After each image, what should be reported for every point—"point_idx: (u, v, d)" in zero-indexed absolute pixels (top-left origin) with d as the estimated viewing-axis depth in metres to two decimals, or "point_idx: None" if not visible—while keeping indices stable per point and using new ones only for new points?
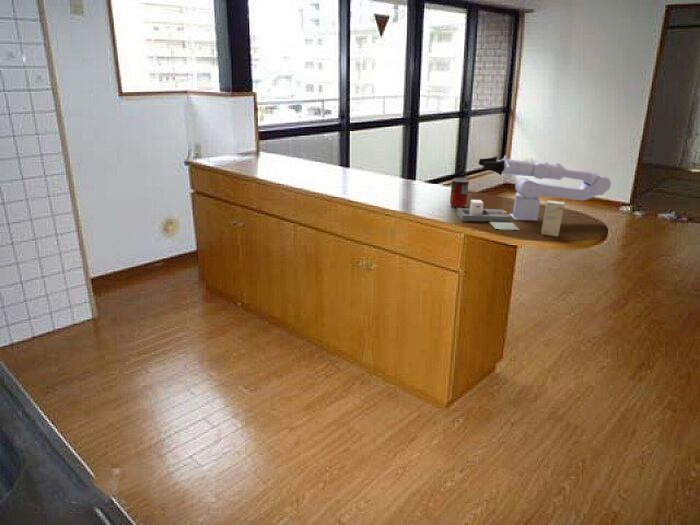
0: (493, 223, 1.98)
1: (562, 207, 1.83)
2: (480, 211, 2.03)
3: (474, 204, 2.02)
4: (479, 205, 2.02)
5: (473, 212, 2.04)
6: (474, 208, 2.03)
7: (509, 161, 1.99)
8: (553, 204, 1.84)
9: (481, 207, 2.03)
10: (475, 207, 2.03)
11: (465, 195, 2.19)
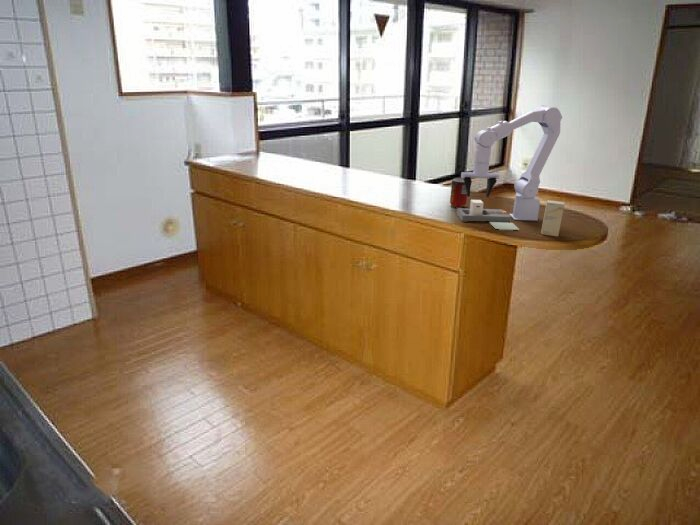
0: (493, 223, 1.98)
1: (562, 207, 1.83)
2: (480, 211, 2.03)
3: (474, 204, 2.02)
4: (479, 205, 2.02)
5: (473, 212, 2.04)
6: (474, 208, 2.03)
7: (486, 172, 1.98)
8: (553, 204, 1.84)
9: (481, 207, 2.03)
10: (475, 207, 2.03)
11: (465, 195, 2.19)
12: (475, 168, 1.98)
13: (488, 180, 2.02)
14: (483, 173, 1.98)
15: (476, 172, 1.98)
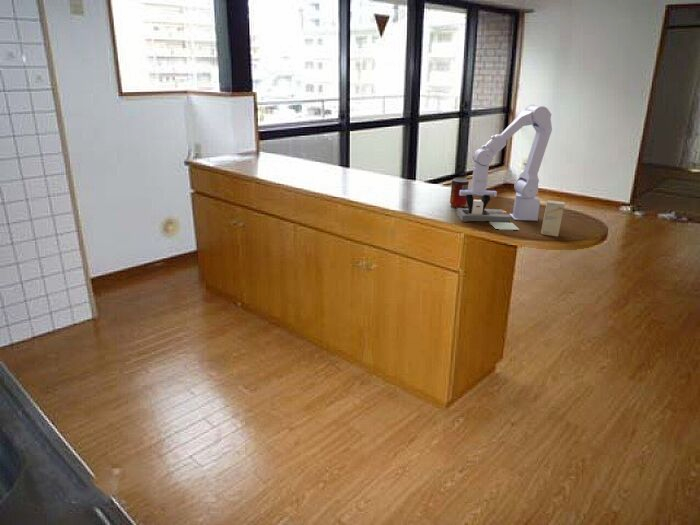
0: (493, 223, 1.98)
1: (562, 207, 1.83)
2: (480, 211, 2.03)
3: (474, 204, 2.02)
4: (479, 205, 2.02)
5: (473, 212, 2.04)
6: (474, 208, 2.03)
7: (484, 189, 2.00)
8: (553, 204, 1.84)
9: (481, 207, 2.03)
10: (475, 207, 2.03)
11: None
12: (473, 186, 2.01)
13: (482, 197, 2.05)
14: (481, 191, 2.00)
15: (474, 190, 2.01)
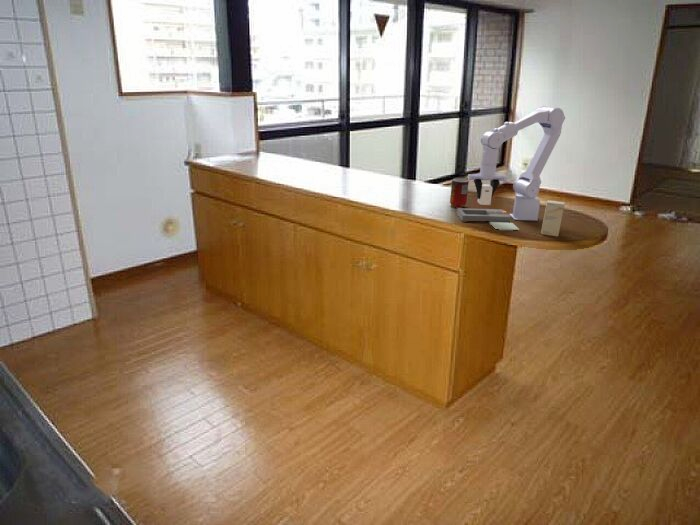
0: (493, 223, 1.98)
1: (562, 207, 1.83)
2: (489, 196, 1.98)
3: (483, 188, 1.97)
4: (488, 189, 1.98)
5: (482, 197, 1.99)
6: (483, 193, 1.98)
7: (493, 173, 1.96)
8: (553, 204, 1.84)
9: (490, 192, 1.98)
10: (484, 192, 1.98)
11: (465, 195, 2.19)
12: (482, 170, 1.96)
13: (491, 182, 2.00)
14: (490, 175, 1.95)
15: (482, 173, 1.96)
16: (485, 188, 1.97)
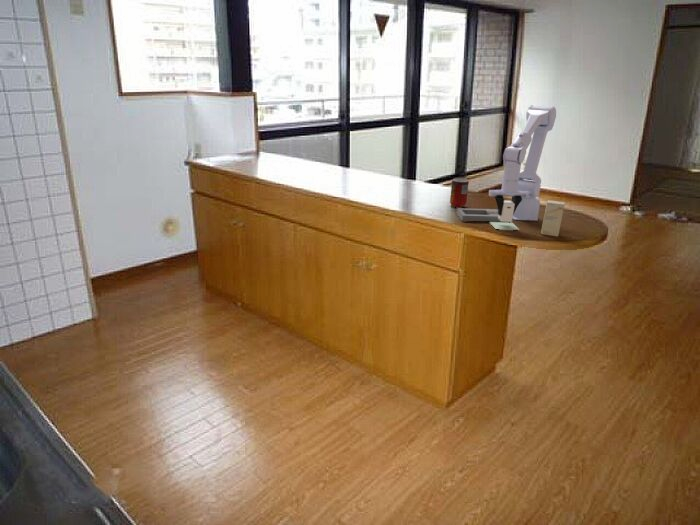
0: (493, 223, 1.98)
1: (562, 207, 1.83)
2: (511, 212, 1.92)
3: (504, 205, 1.91)
4: (510, 206, 1.91)
5: (503, 213, 1.92)
6: (504, 209, 1.91)
7: (515, 190, 1.89)
8: (553, 204, 1.84)
9: (512, 208, 1.91)
10: (505, 208, 1.91)
11: (465, 195, 2.19)
12: (504, 186, 1.89)
13: (513, 198, 1.93)
14: (512, 191, 1.89)
15: (504, 190, 1.89)
16: (507, 204, 1.91)
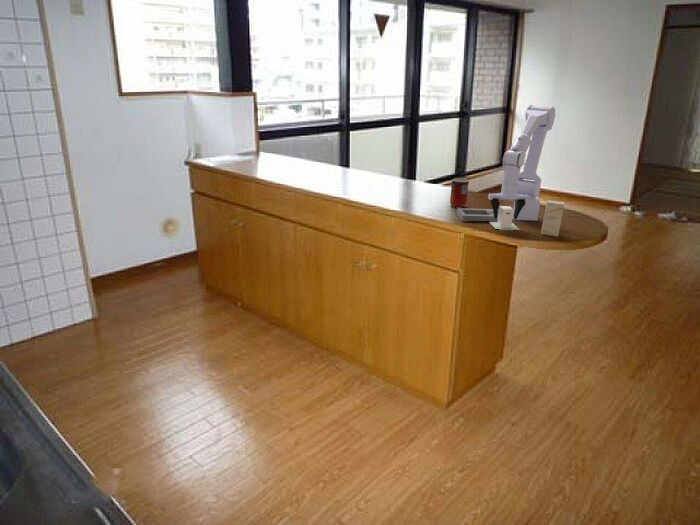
0: (493, 223, 1.98)
1: (562, 207, 1.83)
2: (510, 218, 1.93)
3: (504, 211, 1.92)
4: (509, 212, 1.92)
5: (502, 219, 1.93)
6: (504, 215, 1.92)
7: (515, 193, 1.89)
8: (553, 204, 1.84)
9: (511, 214, 1.92)
10: (505, 214, 1.92)
11: (465, 195, 2.19)
12: (503, 189, 1.90)
13: (516, 201, 1.93)
14: (512, 195, 1.89)
15: (504, 193, 1.90)
16: (506, 210, 1.92)
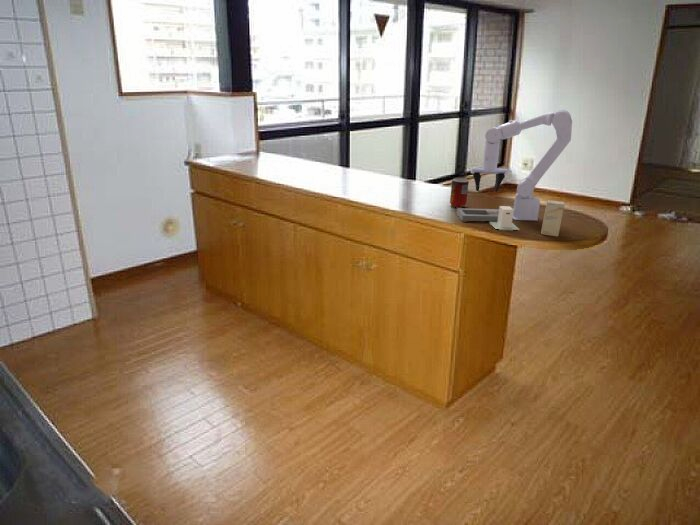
0: (493, 223, 1.98)
1: (562, 207, 1.83)
2: (510, 218, 1.93)
3: (504, 211, 1.92)
4: (509, 212, 1.92)
5: (502, 219, 1.93)
6: (504, 215, 1.92)
7: (495, 167, 2.05)
8: (553, 204, 1.84)
9: (511, 214, 1.92)
10: (505, 214, 1.92)
11: (465, 195, 2.19)
12: (484, 164, 2.06)
13: (497, 175, 2.09)
14: (492, 168, 2.05)
15: (485, 167, 2.06)
16: (506, 210, 1.92)
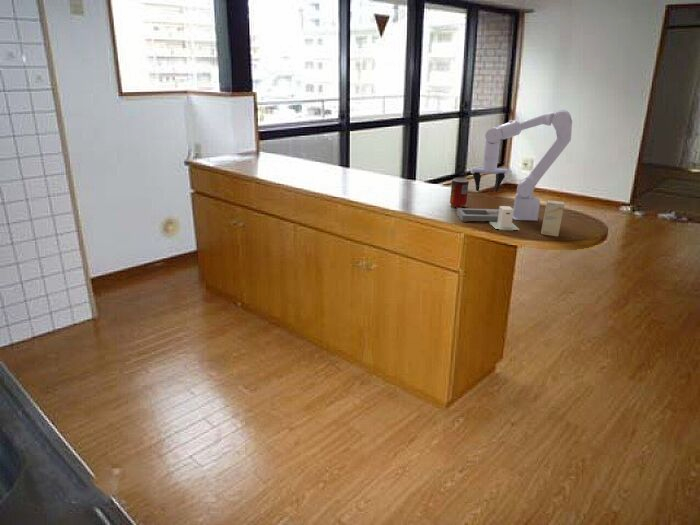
0: (493, 223, 1.98)
1: (562, 207, 1.83)
2: (510, 218, 1.93)
3: (504, 211, 1.92)
4: (509, 212, 1.92)
5: (502, 219, 1.93)
6: (504, 215, 1.92)
7: (495, 167, 2.05)
8: (553, 204, 1.84)
9: (511, 214, 1.92)
10: (505, 214, 1.92)
11: (465, 195, 2.19)
12: (484, 164, 2.06)
13: (497, 175, 2.09)
14: (492, 168, 2.05)
15: (485, 167, 2.06)
16: (506, 210, 1.92)
